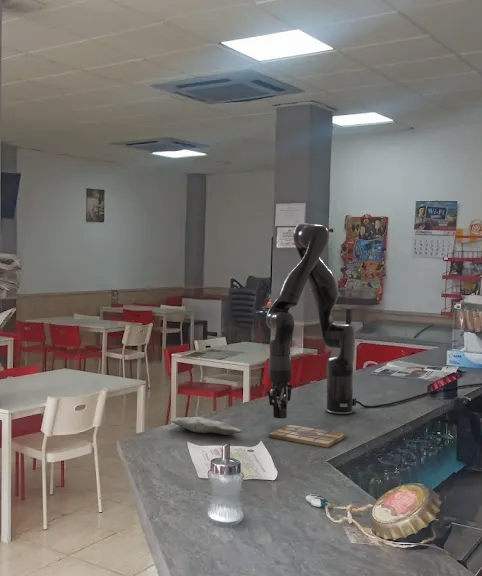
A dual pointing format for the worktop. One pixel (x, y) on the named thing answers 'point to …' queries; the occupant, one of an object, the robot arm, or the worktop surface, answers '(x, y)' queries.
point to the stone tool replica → (205, 425)
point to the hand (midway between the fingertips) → (280, 415)
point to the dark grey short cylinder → (282, 413)
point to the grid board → (308, 435)
